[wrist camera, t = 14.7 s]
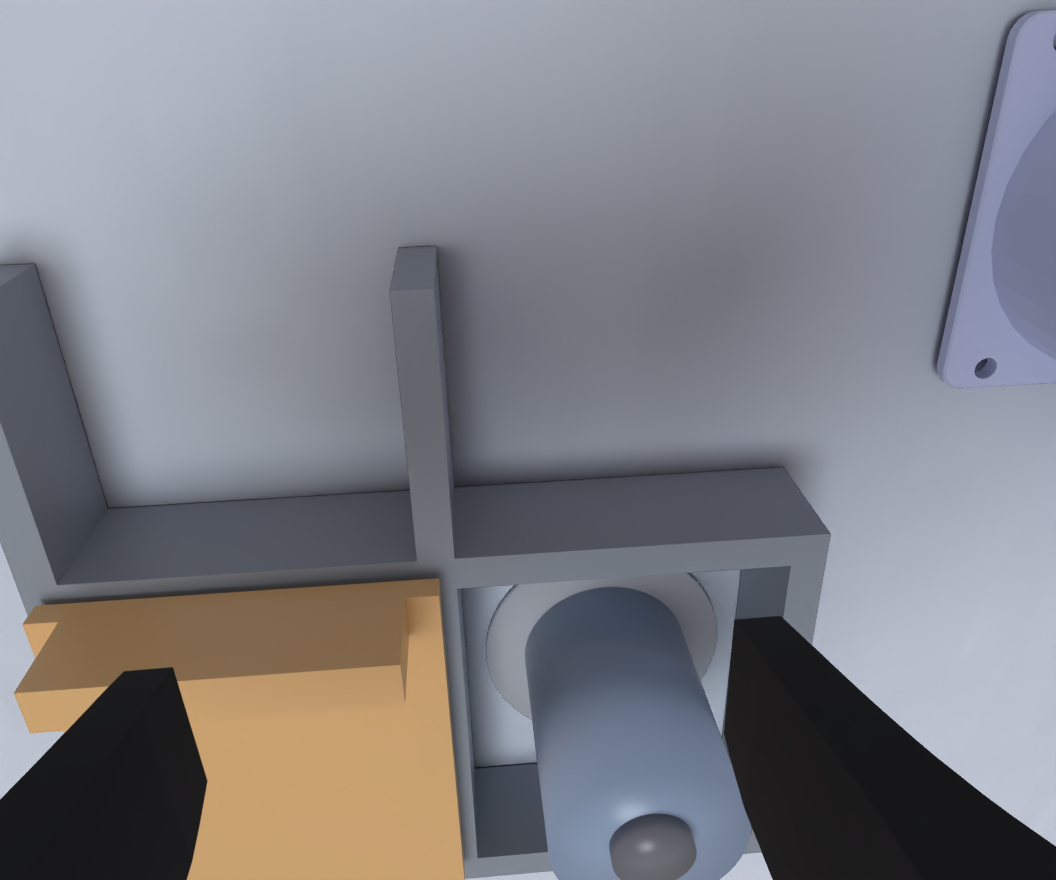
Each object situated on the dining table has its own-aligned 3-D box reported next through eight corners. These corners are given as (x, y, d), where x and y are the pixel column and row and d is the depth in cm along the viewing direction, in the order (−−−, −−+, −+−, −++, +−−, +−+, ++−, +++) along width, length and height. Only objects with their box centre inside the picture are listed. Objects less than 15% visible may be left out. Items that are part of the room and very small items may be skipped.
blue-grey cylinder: (708, 606, 23) (794, 804, 18) (645, 722, 25) (705, 935, 19) (557, 571, 22) (595, 769, 17) (503, 694, 24) (521, 910, 18)
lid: (439, 578, 18) (437, 662, 16) (464, 867, 23) (466, 965, 20) (35, 605, 18) (-26, 695, 16) (141, 895, 22) (106, 999, 20)
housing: (815, 229, 19) (875, 268, 16) (743, 765, 26) (776, 850, 24) (-6, 265, 18) (-86, 313, 15) (170, 812, 25) (137, 908, 23)
